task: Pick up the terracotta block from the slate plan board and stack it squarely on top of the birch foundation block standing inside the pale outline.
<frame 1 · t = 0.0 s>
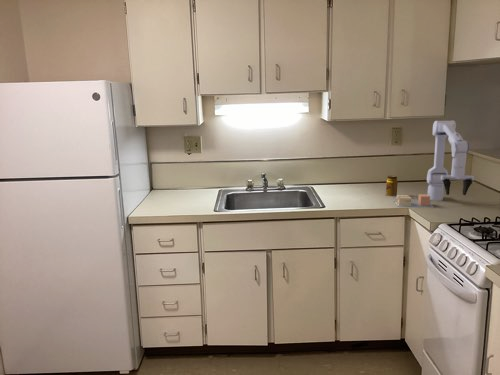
hand: (455, 194, 202), 10 cm above the worktop, tool pointing down, fingers open, 7 cm apart
foundation block: (403, 203, 222), point 1 cm above the worktop, touching plan board
condiment: (392, 196, 243), on the worktop
plan board: (413, 205, 222), on the worktop
terracotta block: (423, 204, 220), point 1 cm above the worktop, touching plan board
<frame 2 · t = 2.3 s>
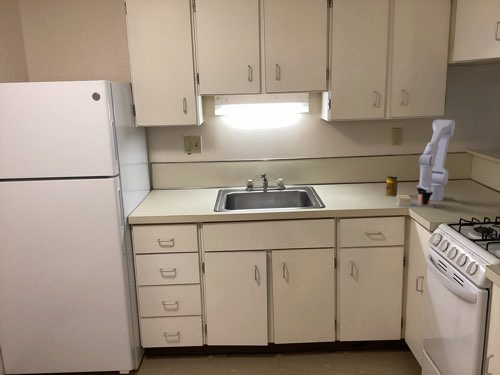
hand: (423, 203, 220), 2 cm above the worktop, tool pointing down, fingers closed on terracotta block, 4 cm apart
terracotta block: (423, 204, 220), point 1 cm above the worktop, touching gripper, plan board
everything else where it was.
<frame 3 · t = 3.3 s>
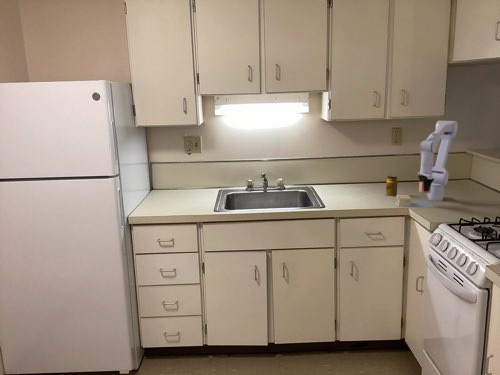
hand: (424, 190, 218), 9 cm above the worktop, tool pointing down, fingers closed on terracotta block, 4 cm apart
terracotta block: (424, 192, 218), point 8 cm above the worktop, touching gripper
everything else where it was.
when the fingers open (7 cm above the worktop, at t = 4.8 s): terracotta block stays where it is, resting on foundation block.
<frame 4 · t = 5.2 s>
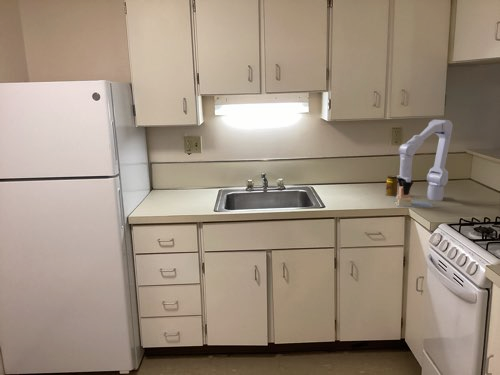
hand: (404, 193, 221), 7 cm above the worktop, tool pointing down, fingers open, 7 cm apart
foundation block: (403, 203, 222), point 1 cm above the worktop, touching plan board, terracotta block
terracotta block: (404, 196, 221), point 5 cm above the worktop, touching foundation block
everything else where it was.
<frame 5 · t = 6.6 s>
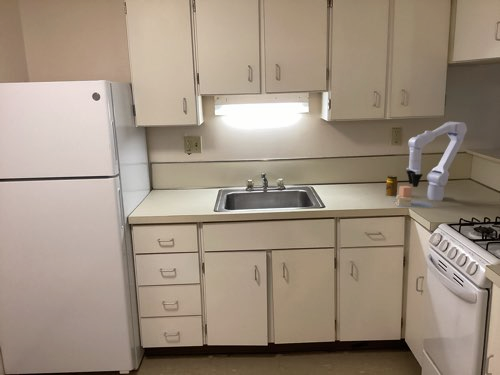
hand: (413, 185, 225), 10 cm above the worktop, tool pointing down, fingers open, 7 cm apart
terracotta block: (405, 196, 222), point 5 cm above the worktop, touching foundation block
everything else where it was.
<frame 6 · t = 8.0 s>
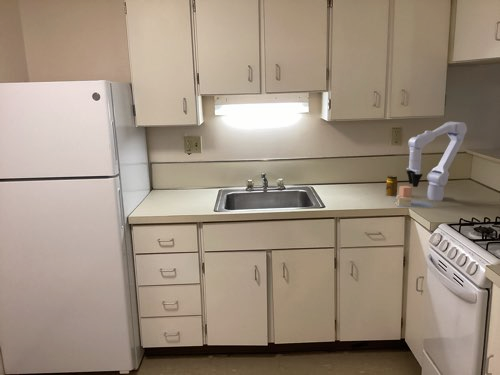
hand: (413, 185, 225), 10 cm above the worktop, tool pointing down, fingers open, 7 cm apart
nothing on the worktop moved.
at the end: terracotta block 1.5 cm off-centre on the foundation block, point 4.0 cm above the foundation block's base; terracotta block tilted 0°; foundation block moved 0.0 cm from its start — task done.
